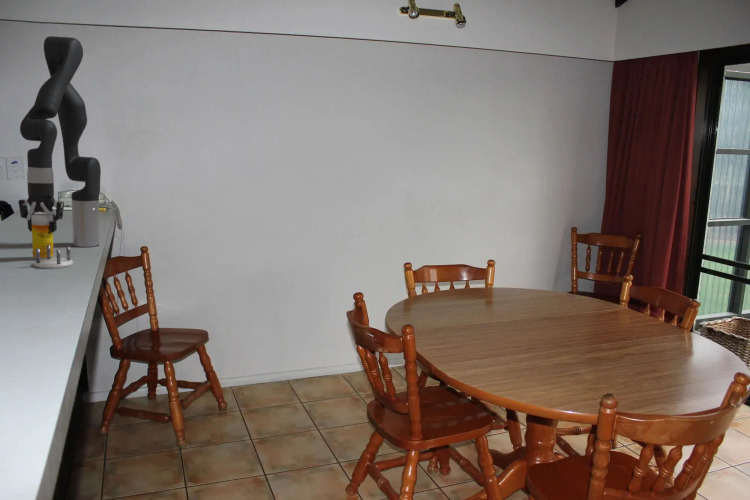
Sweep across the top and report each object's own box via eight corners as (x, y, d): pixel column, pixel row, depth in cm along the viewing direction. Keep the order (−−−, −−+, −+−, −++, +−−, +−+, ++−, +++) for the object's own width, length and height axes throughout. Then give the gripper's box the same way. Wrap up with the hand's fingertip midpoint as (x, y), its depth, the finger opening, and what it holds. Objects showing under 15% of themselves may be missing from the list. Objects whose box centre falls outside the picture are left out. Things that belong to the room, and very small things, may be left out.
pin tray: (45, 260, 197) (44, 243, 196) (79, 262, 197) (78, 245, 196) (26, 267, 186) (26, 249, 185) (62, 269, 186) (61, 251, 185)
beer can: (47, 260, 197) (45, 215, 194) (29, 259, 197) (27, 214, 194) (57, 257, 203) (56, 213, 200) (39, 256, 203) (38, 212, 200)
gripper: (68, 181, 199) (69, 231, 202) (24, 179, 199) (26, 228, 202) (56, 183, 192) (58, 234, 195) (11, 180, 192) (13, 232, 195)
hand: (42, 231), depth 198 cm, fingers closed on beer can, 6 cm apart
